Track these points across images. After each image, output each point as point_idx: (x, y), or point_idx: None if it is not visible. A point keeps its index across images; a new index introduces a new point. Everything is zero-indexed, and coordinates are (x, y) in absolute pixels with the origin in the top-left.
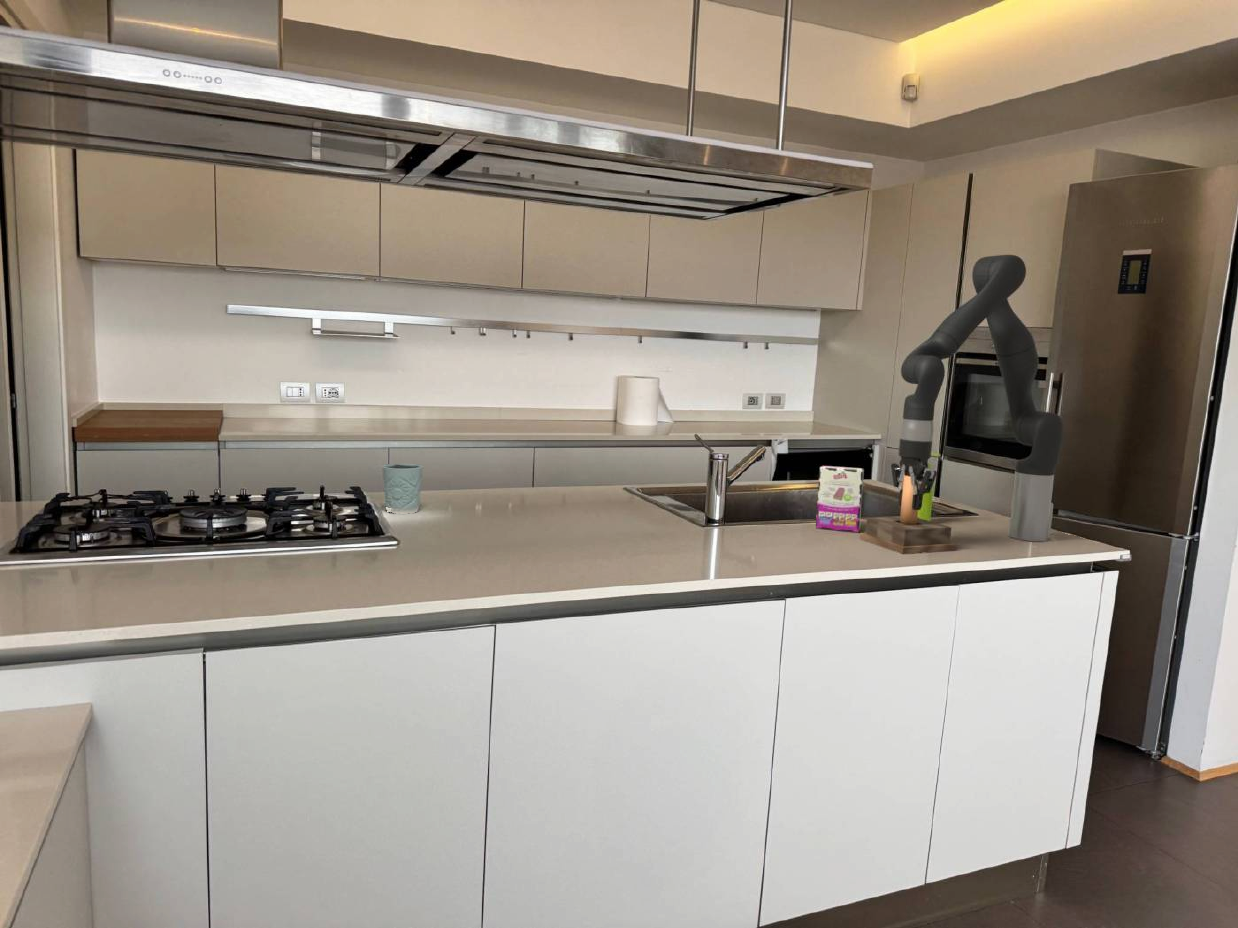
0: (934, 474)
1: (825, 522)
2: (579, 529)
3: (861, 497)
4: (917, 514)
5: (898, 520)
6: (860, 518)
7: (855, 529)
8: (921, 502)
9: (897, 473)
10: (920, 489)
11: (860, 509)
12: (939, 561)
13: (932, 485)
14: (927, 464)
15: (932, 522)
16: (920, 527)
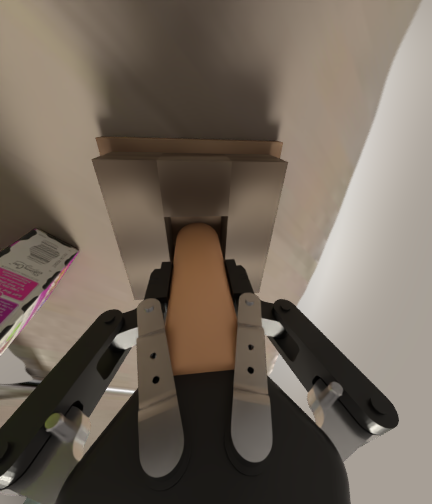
0: (376, 402)
1: (45, 300)
2: (99, 435)
3: (8, 306)
4: (219, 247)
5: (168, 251)
6: (33, 251)
7: (74, 257)
8: (248, 280)
9: (89, 400)
10: (276, 338)
11: (39, 281)
12: (313, 244)
13: (318, 329)
14: (349, 497)
15: (210, 168)
16: (253, 251)
